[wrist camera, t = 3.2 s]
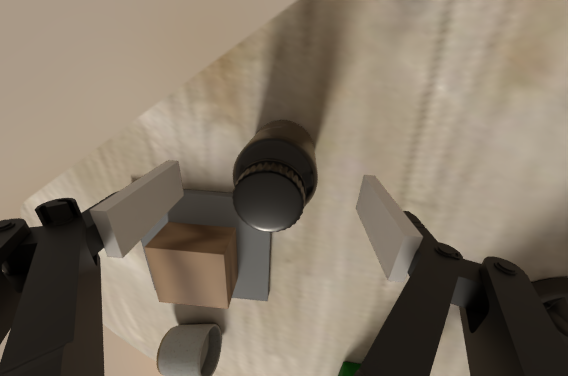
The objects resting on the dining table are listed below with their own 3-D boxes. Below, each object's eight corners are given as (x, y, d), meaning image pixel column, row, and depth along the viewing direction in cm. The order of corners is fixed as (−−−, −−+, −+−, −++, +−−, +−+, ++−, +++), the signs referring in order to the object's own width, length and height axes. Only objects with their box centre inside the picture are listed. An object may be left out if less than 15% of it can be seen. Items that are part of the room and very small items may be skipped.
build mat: (272, 196, 28) (271, 200, 27) (268, 295, 35) (267, 301, 35) (131, 184, 28) (126, 188, 27) (158, 284, 36) (154, 289, 35)
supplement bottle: (272, 105, 23) (247, 127, 12) (325, 141, 24) (346, 189, 13) (242, 158, 26) (200, 214, 15) (291, 188, 27) (286, 259, 16)
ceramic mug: (170, 316, 40) (143, 366, 33) (214, 313, 38) (195, 365, 32) (191, 349, 44) (171, 400, 37) (230, 348, 43) (217, 400, 36)
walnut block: (235, 227, 29) (223, 254, 24) (238, 277, 33) (228, 308, 28) (168, 221, 29) (144, 247, 25) (178, 271, 33) (159, 301, 29)
